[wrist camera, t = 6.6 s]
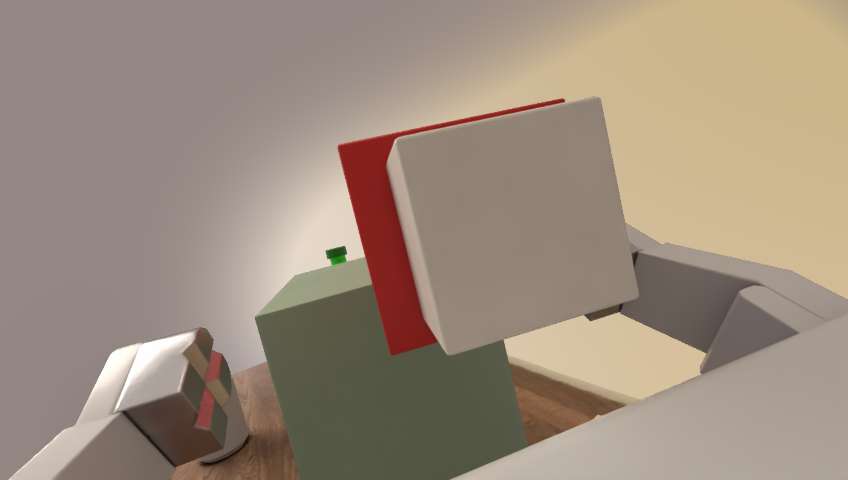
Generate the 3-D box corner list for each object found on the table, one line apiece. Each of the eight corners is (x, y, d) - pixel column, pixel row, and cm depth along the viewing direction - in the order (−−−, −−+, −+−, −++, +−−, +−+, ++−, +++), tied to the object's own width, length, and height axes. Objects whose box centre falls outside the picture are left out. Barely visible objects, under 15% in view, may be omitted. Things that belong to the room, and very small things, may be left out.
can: (256, 442, 56) (235, 369, 55) (201, 474, 51) (177, 394, 50) (242, 428, 62) (223, 361, 61) (192, 455, 57) (170, 383, 56)
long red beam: (692, 318, 5) (642, 48, 5) (401, 411, 5) (324, 108, 4) (425, 242, 29) (413, 193, 29) (370, 256, 28) (357, 206, 28)
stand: (596, 744, 19) (483, 252, 17) (410, 866, 16) (254, 316, 14) (487, 528, 32) (417, 243, 30) (377, 578, 30) (294, 275, 28)
